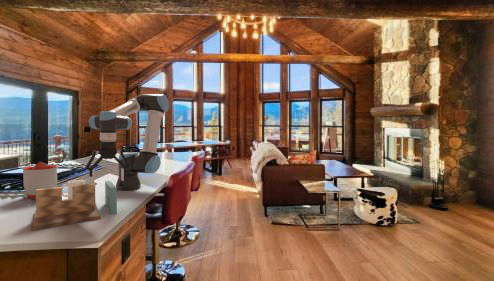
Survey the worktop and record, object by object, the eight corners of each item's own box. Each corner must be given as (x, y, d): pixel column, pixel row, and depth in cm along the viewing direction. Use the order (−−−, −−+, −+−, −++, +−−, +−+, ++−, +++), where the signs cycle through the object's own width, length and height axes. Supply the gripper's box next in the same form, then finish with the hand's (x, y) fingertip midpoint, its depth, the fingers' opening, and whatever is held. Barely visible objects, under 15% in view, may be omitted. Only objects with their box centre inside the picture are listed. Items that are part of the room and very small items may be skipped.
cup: (83, 200, 143) (83, 182, 142) (57, 202, 139) (57, 183, 138) (87, 196, 151) (87, 179, 150) (63, 198, 147) (62, 180, 146)
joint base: (95, 204, 136) (94, 179, 135) (100, 218, 117) (100, 189, 116) (36, 212, 122) (35, 184, 121) (31, 230, 103) (30, 196, 102)
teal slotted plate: (110, 202, 140) (110, 180, 140) (116, 213, 124) (116, 188, 123) (105, 203, 139) (105, 181, 138) (111, 214, 123) (110, 189, 122)
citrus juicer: (52, 190, 161) (52, 158, 160) (61, 196, 150) (61, 161, 149) (19, 195, 149) (18, 161, 148) (27, 202, 138) (25, 164, 137)
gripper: (80, 141, 124) (80, 185, 125) (135, 141, 139) (135, 180, 140) (79, 140, 130) (79, 182, 131) (132, 140, 145) (132, 178, 146)
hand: (108, 181), depth 136 cm, fingers open, 13 cm apart
